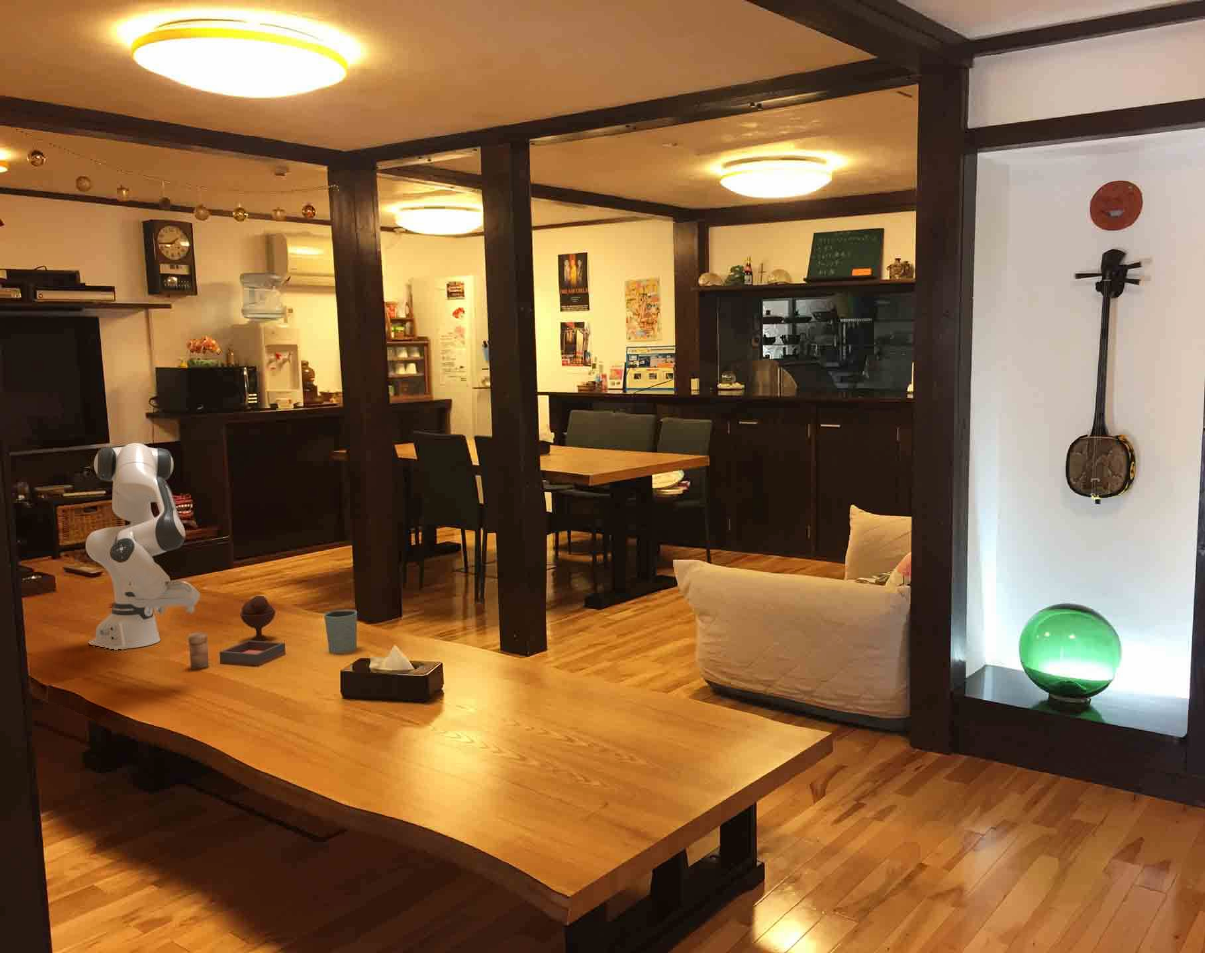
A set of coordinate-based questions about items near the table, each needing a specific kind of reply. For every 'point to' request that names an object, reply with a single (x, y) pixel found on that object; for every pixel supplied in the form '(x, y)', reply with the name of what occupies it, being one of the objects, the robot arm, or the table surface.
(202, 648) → the tea canister
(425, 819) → the table surface
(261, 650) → the lacquer tray
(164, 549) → the robot arm
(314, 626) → the table surface
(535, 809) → the table surface
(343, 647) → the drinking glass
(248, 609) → the ice cream bowl
